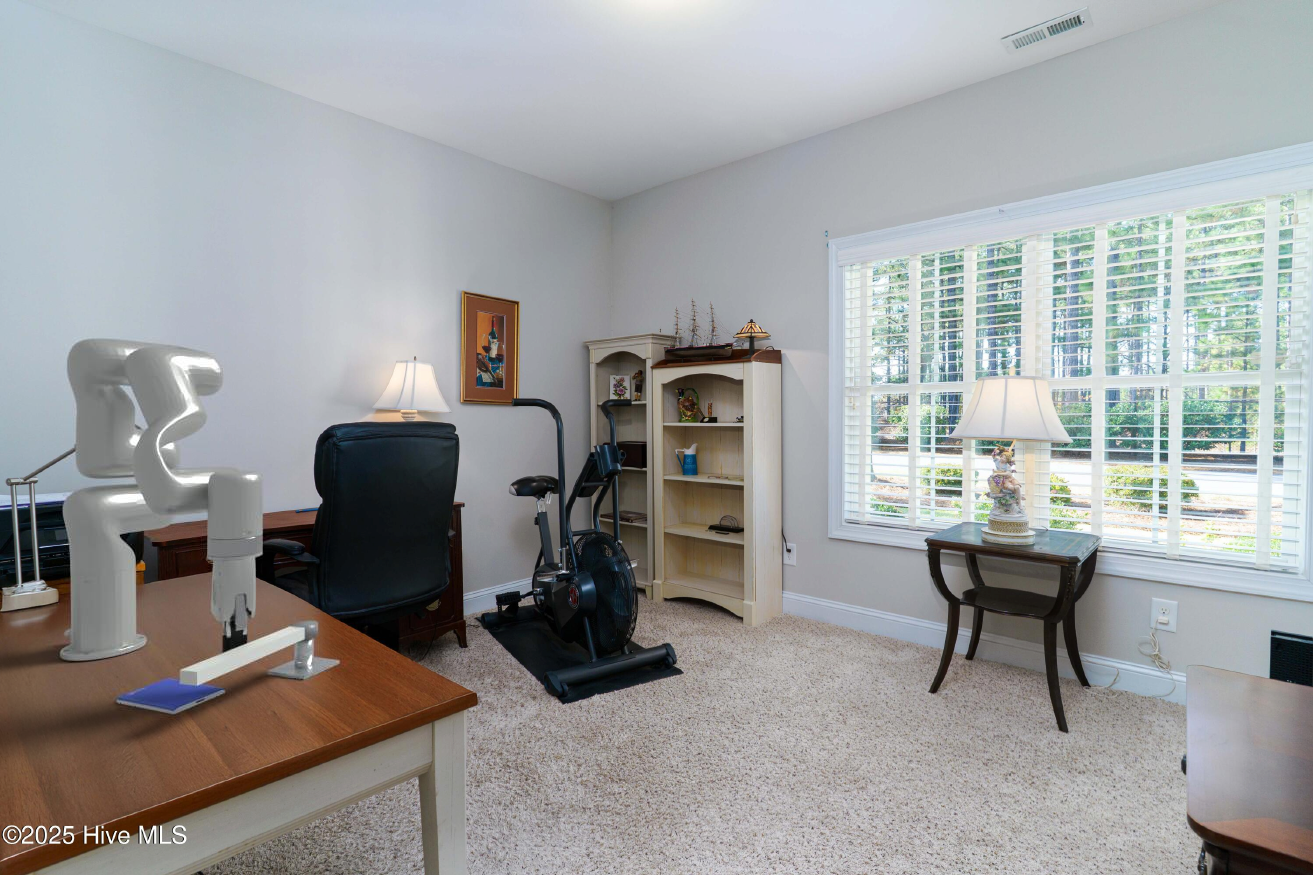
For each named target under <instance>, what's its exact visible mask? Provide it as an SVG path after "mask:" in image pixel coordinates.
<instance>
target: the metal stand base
mask: <svg viewBox="0 0 1313 875" xmlns="http://www.w3.org/2000/svg"><path fill="white" fill-rule="evenodd" d="M314 637H315V636H314ZM314 637H312V638H307V639H303V640H301V641H299V642H297V643H294V644H293V645H294V655H293V656H294V659H293V660H290V661H288V662H285V663H283V664H281V665H279V666H276V667H273V668H271V669H268V670H267V671H266V675H269V676H274V675H275V677H281V678H289V679H294V678H296V680H301V679H303V680H302V681H305V680H307V679H309V678H311V677H313V676H316V675H317V674H320V673H322V672H324V671H326V670H328V669H331V668H333V667H335V666H337V665H339V664H340V659H334V658H326V657H319V656H314V655H315V654H314V652H315V651H314V650H315V649H314V648H315V647H314V646H315V645H314V642H315V641H314Z"/></svg>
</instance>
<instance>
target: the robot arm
mask: <svg viewBox="0 0 1313 875" xmlns="http://www.w3.org/2000/svg"><path fill="white" fill-rule="evenodd" d="M66 372H67V378H68V382H69V384H70V385H69V386H70V388H71V391H72V393H73V396H74V400H75V405H76V419H75V420H76V423H75V464H76V468H77V470H78V472H79V474H80V475H81V476H83V477H85V478H89V479H97V480H98V479H99V480H105V479H107V480H108V479H110V480H111V479H127V478H128V479H129V478H134V479H135V482H136V483H131V484H130V483H128V484H127V483H126V484H125V483H124V484H109V485H107V484H106V485H95V486H88V487H83V488H80V489H78V490H77V489H76V490H75V491H74V492H72V493H70V494H69V495H68V496H66V498H65V500H64V502H63V504H62V518H63V520H64V524H65V525H64V526H65V529H66V534H67V539H68V544H69V546H68V547H69V559H70V560H69V561H70V569H69V570H70V572H69V573H70V620H71V621H70V623H71V624H70V628H69V629H66V630H65V631H64V633H63V635H64V637H66V638H69V639H70V640H69V641H70V644H68V645H66V646H64V647H63V648H62V649H61V650H60V651H59V652H60V653H59V657H60V658H61V659H62V660H65V661H72V662H73V661H74V662H81V661H94V660H101V659H107V658H111V657H116V656H121V655H124V654H127V653H131V652H134V651H136V650H138V649H140V648H142V647H144V646H145V645H146V644H147V636H145V635H144V634H141V633H137V571H136V570H137V566H136V564H137V563H136V555H135V552H134V551H133V549H132V548H131V547H130V545H128V544H127V542H125V541H124V540H123V539H122V538H121V536H120V535H123V534H128V533H136V532H142V531H143V532H144V531H152V530H159V529H164V528H166V527H169V526H170V525H171V524H172V523H173V522H174V521H175V520H176V518H177V516H185V515H194V514H195V515H196V514H202V513H207V533H206V534H207V543H206V544H207V550H206V551H207V554H206V556H207V557H206V558H207V559H208V560H210V561H213V563H212V572H211V573H212V575H211V579H212V580H211V598H210V599H211V600H210V611H211V612H210V613H211V614H212V615H213V617H214V618H215V620H216V621H217V622H218V623H220V624H222V630H223V632H222V633H223V634H222V636H221V637H222V641H221V642H222V648H221V649H222V650H221V651H222V653H224V652H227V651H229V650H232V649H234V648H237V647H239V646H242V645H244V644H247V643H248V619H249V620H251V619H253V618H254V616H256V604H257V603H256V602H257V600H256V598H257V597H256V596H257V595H256V594H257V593H256V592H257V586H256V585H257V582H256V571H257V570H256V558H257V557H260V556H263V554H264V553H263V546H264V545H263V542H264V541H263V539H264V538H263V537H264V536H263V534H264V533H263V532H264V531H263V530H264V527H263V523H264V522H263V521H264V517H263V516H264V508H263V507H264V506H263V505H264V502H263V501H264V479H263V476H262V475H261V474H260V473H259V472H257V471H254V470H253V471H252V470H241V469H239V468H235V467H231V466H211V467H206V466H204V467H185V468H182V467H181V458H180V457H181V456H180V455H181V454H180V448H179V445H178V443H177V442H178V441H180V440H183V439H186V438H188V437H190V436H192V435H194V434H196V433H197V432H199V430H201V429H202V428H203V427H204V425H205V424H206V422H207V420H208V415H207V411H206V409H205V408H204V405H203V403H202V401H201V399H200V397H199V396H201V397H207V396H208V397H209V396H213V395H215V394H217V393H218V392H219V391H220V389H221V388H222V386H223V382H224V374H223V368H222V367H221V365H220V362H219V361H218V360H217V358H216V357H214V356H213V355H212V354H211V353H209V352H206V351H204V350H203V351H202V350H197V349H193V348H188V347H184V346H179V345H171V344H165V343H164V344H163V343H156V342H155V343H154V342H146V341H136V340H128V339H127V340H126V339H116V338H103V337H102V338H101V337H100V338H99V337H98V338H88V339H82V340H80V341H78V342H76V343H74V345H73V346H72V347H71V349H70V350H69V352H68V355H67V361H66ZM121 386H124V387H125V386H126V387H130V388H131V390H132V392H133V395H134V397H135V399H136V402H137V404H138V406H139V408H140V411H141V414H142V416H143V418H144V421H145V422H146V425H147V428H144V429H143V428H140V429H139V428H136V407H135V404H134V401H133V400H132V398H131V397H130V396H129V395H128V394H127V392H126V391H125V389H123V387H121ZM222 653H221V654H222Z"/></svg>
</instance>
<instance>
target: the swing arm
mask: <svg viewBox="0 0 1313 875" xmlns="http://www.w3.org/2000/svg"><path fill="white" fill-rule="evenodd" d="M318 635H319V622H318V621H316V620H302V621H296V622H294V623H291V624H290V625H289V626H287V627H285V628H282V629H279V630H278V631H275V632H272V633H270V634H267V635H265V636H262V637H260V638H257V639H255V640H252V641H250V642H247V644H244V645H242V646H239V647H237V648H234V649H232V650H229V651H227V652H224V653H218V654H217V655H214V656H212V657H210V658H207V659H205V660H202V661H199V662H197V663H194V664H192V665H189V666H187V667H184V668H182V669H179V680H180V684H186V685H195V686H198V685H200V684H204V683H205V684H206V683H207V682H208V681H211V680H214V679H215V678H218V677H220V676H223V675H225V674H227V673H230V672H232V671H234V670H236V669H237V670H238V669H239V668H241V667H243V666H246V665H248V664H251V663H253V662H255V661H257V660H260V659H262V658H264V657H267V656H269V655H271V654H273V653H276V652H278V651H280V650H282V649H285V648H287V647H289V646H291V645H294V643H297V642H299V641H301V640H303V639H307V638H312V637H316V636H318Z"/></svg>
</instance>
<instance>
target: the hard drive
mask: <svg viewBox="0 0 1313 875" xmlns="http://www.w3.org/2000/svg"><path fill="white" fill-rule="evenodd" d="M223 693H224V694H225V693H226V688H223V687H219V686H213V685H208V684H204V683H202V684H200V685H198V686H195V685H186V684H180V679H175V678H169V677H168V678H165V679H162V680H159V681H157V682H154V683H151V684H149V685H146V686H143V687H140V688H137V689H134V690H132V691H129V692H126V693H124V694H121V695H119V696H118V697H117V698H116V703H117V704H120V703H121V704H122V705H127V706H131V707H135V706H136V707H135V708H141V709H145V710H151V711H157V712H162V713H166V714H170V715H175V714H178V713H180V712H183V711H185V710H187V709H190V708H192V707H195V706H197V705H200V704H203V703H204V702H207V701H209V700H212V699H214V698H216V696H217V697H218V696H221V694H222V695H224V694H223ZM121 704H120V705H121Z"/></svg>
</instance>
